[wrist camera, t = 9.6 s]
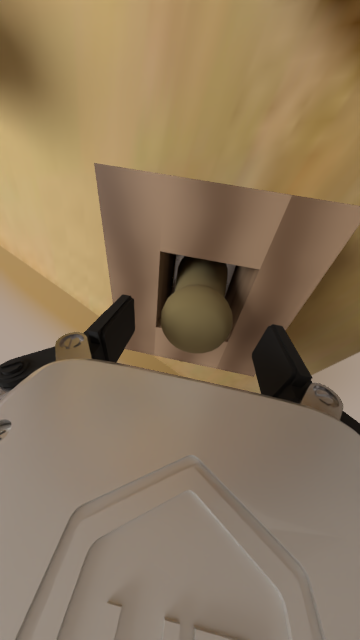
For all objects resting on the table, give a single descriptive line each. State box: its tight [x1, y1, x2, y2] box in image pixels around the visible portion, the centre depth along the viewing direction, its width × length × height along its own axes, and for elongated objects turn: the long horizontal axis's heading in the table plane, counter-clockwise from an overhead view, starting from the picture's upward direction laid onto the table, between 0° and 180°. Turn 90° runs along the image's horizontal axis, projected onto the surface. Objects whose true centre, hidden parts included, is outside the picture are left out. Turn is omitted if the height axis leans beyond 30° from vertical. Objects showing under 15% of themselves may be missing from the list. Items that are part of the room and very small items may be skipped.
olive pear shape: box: [161, 256, 232, 353], centre depth 15 cm, size 6×6×11 cm
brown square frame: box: [94, 163, 360, 377], centre depth 17 cm, size 16×16×8 cm
